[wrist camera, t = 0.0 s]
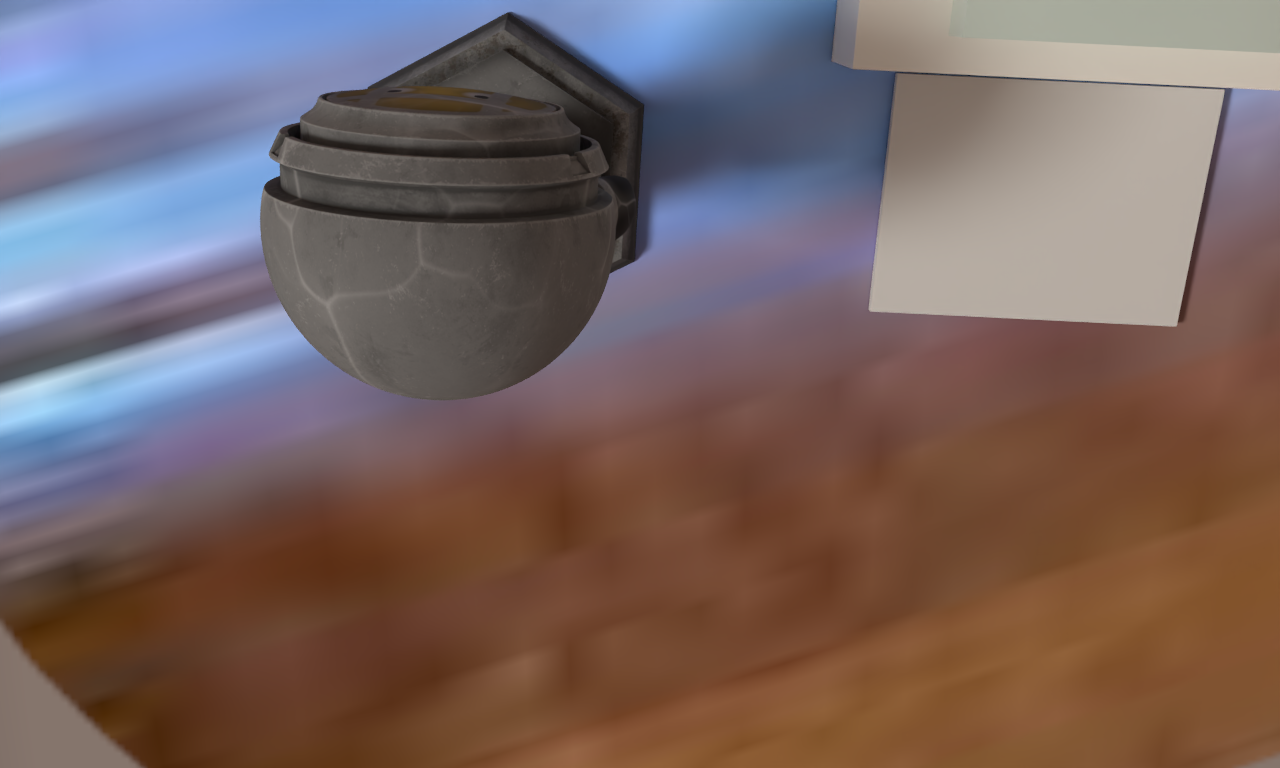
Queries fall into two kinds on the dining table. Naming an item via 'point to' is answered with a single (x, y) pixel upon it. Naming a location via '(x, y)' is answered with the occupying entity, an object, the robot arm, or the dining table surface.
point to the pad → (1041, 198)
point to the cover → (1125, 22)
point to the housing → (1026, 52)
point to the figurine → (455, 214)
